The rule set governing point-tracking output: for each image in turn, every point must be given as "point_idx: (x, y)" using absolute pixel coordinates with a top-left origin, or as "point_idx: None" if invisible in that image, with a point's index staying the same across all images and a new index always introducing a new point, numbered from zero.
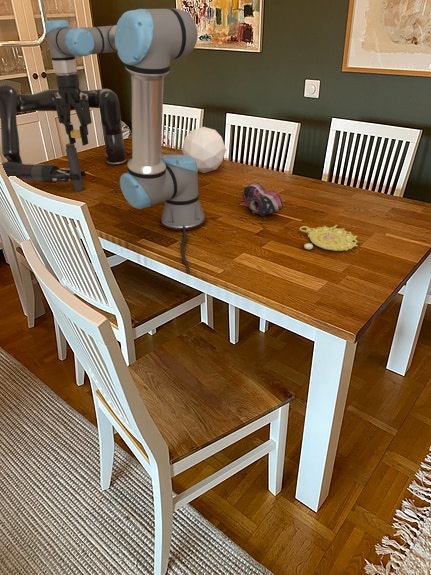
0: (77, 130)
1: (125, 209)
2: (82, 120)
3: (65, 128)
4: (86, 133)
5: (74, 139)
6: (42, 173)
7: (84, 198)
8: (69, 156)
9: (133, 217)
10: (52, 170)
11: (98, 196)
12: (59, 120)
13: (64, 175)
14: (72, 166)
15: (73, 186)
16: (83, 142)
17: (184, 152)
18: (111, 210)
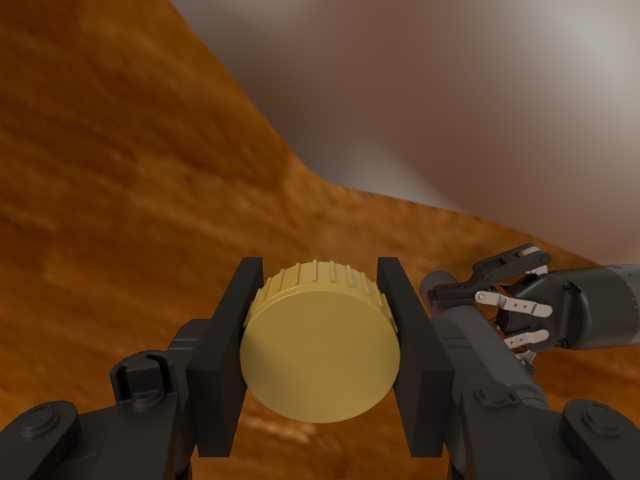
0: (329, 384)
1: (149, 159)
2: (95, 470)
3: (480, 361)
4: (178, 338)
5: None
6: (614, 278)
7: (368, 215)
8: (501, 357)
9: (67, 94)
10: (575, 306)
11: (326, 246)
12: (630, 440)
13: (491, 277)
14: (472, 325)
15: (455, 281)
16: (240, 268)
17: None
18: (194, 135)
